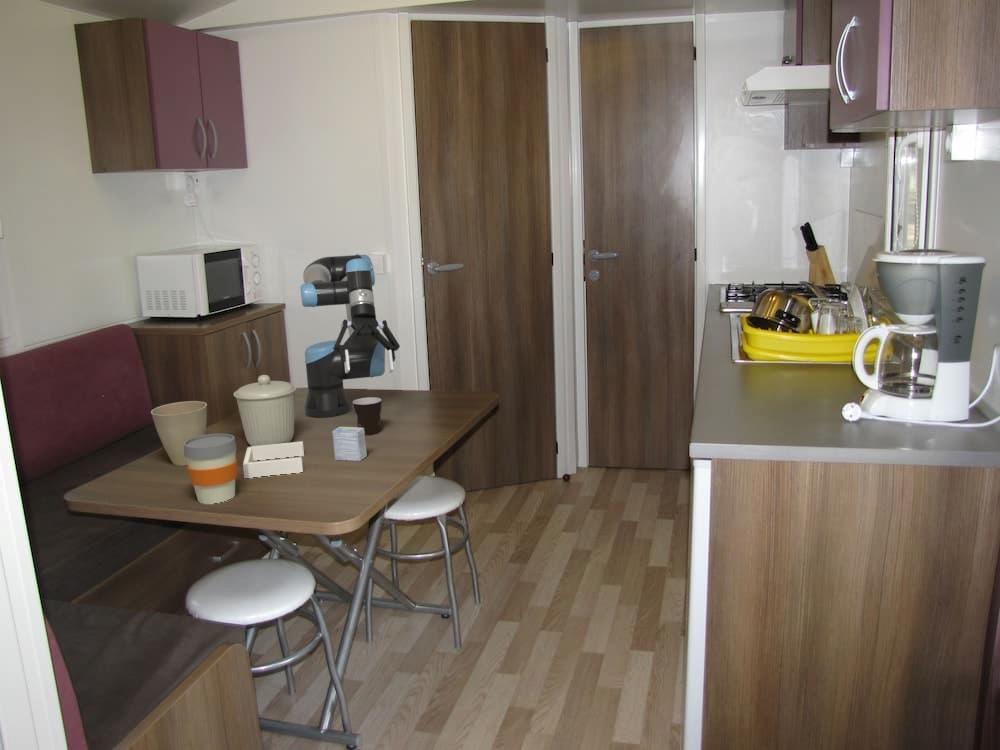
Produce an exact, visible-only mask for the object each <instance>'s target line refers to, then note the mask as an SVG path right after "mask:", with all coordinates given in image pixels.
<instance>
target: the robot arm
mask: <svg viewBox="0 0 1000 750" xmlns="http://www.w3.org/2000/svg"><path fill="white" fill-rule="evenodd" d="M302 277H303V282H304V283H302V284H301V285H300V296H301V305H302V306H303V307H305V308H311V307H312V308H315V307H324V306H325V307H326V306H336V305H337V306H339V305H345V313H346V317H347V318H345V319H343V321H342V322H341V329H340V332H339V334H338V335H337V338H336V339H335V340H326V341H322V342H317V343H314V344H312V345H309V346H308V347H306V349H305V351H304V364H305V370H306V380H307V389H308V390H307V395H306V399H305V404H304V414H305V416H308V417H312V418H330V417H336V415H337V416H341V415H344V414H347V413H349V412H351V407H352V406H351V402H350V399H349V398H348V395H347V393H346V390H345V387H344V380H355V379H363V378H364V379H365V378H375V377H380V376H383V375H384V374H385V371H386V362H387V369H388V373H389V374H392V373H393V371H394V362H395V360H396V353H395V351H398V350H399V349H400V348H401V347H400V344H399V342H398V340H396V339H397V338H396V337H395V336H394V334H393V332H392V331H391V329H390V328H389V326H388V323H387V320H385V319H384V320H382V321H378V320H377V316H376V308H375V298H374V290H373V286H375V284H376V277H375V270H374V265H373V262H372V260H371V257H370V256H369V255H367V254H358V253H356V254H355V255H353V254H351V255H339V256H335V255H334V256H325V257H321V258H318V259H316V260H314V261H312V262H311V263H309V264H308V265H307V266H306V267H305V269H304V270H303V276H302ZM378 327H379V329H380V330H381V331H382V333H383V334H384V335H383V334H382V333H381V332H380V330H379V329H378ZM347 330H348V334H349V336H348V338H347V339H346V340H345V342H344V343H343V344H341V342H342V340H343V338H344V336H345V333H346V332H347ZM386 350H387V351H386ZM386 359H387V360H386Z"/></svg>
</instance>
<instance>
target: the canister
mask: <svg viewBox="0 0 1000 750" xmlns="http://www.w3.org/2000/svg"><path fill="white" fill-rule="evenodd" d="M296 391H297V386H296V385H295V384H293V383H290V382H287V381H282V380H271V377H270V376H269V375H267V374H262V375H259V376H258V378H257V382H252V383H249V384H245V385H243V386H240V387H239V388H238V389H237V390H236V391H234V392H233V397H234V398H236V401H237V402H236V403H237V407H238V412H239V415H240V419H241V420H240V421H241V423H242V428H243V432H244V436H245V438H246V439H245V440H246V442H247V443H248V444H249V445H250V447H251V446H261V445H271V444H281V443H291V441H292V440H293V437H294V434H295V400H296V398H295V395H296V393H295V392H296Z"/></svg>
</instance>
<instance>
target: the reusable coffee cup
mask: <svg viewBox="0 0 1000 750" xmlns="http://www.w3.org/2000/svg"><path fill="white" fill-rule="evenodd" d="M237 449H238V447H237V443H236V438H235V436H234V435H233V434H228V433H221V432H220V433H210V434H209V433H208V434H205V435H202V436H197V437H194V438H191V439H189V440H187V441H185V443H184V456H185V457H186V459H187V463H188V464H187V465H186V469H187V472H188V476H189V480H190V483H191V485H193V487H194V492H195V495H196V498H197V502H198V503H199V502H200V503H199V504H202V503H203V505H215V504H214V503H218V504H221V503H220V502H223V503H225V502H224V501H226V502H228V501H227V500H229V499H231V498H233V497H234V496H235V497H236V478H237V476H238V458H237V457H236V451H237ZM235 497H234V498H235ZM234 498H233V499H234ZM231 500H232V499H231ZM229 501H230V500H229Z"/></svg>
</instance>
